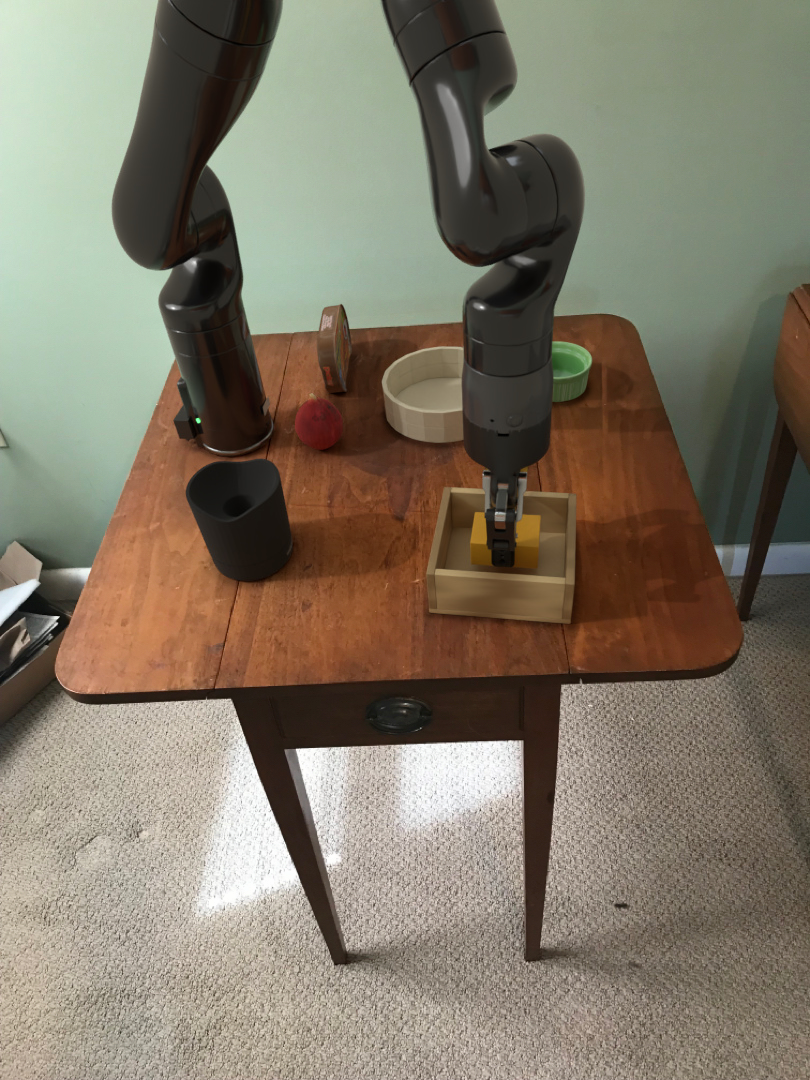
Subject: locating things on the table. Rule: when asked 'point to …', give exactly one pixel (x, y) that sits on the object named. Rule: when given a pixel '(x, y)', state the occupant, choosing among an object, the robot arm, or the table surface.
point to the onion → (318, 423)
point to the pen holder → (242, 517)
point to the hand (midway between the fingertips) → (505, 545)
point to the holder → (503, 588)
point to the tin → (334, 347)
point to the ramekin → (569, 370)
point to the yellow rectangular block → (525, 543)
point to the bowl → (426, 394)
